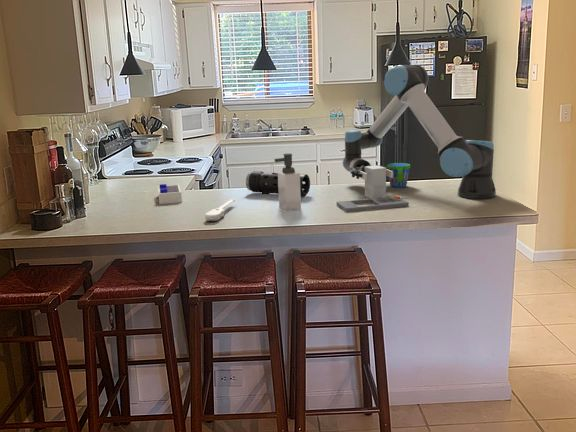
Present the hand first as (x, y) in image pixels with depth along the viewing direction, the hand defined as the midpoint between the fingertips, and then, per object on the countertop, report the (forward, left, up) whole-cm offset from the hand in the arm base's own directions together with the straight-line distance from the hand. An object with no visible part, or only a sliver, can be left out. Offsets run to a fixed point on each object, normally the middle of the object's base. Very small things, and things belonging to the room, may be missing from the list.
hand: (379, 175), depth 239 cm
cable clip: (+87, -36, -10) cm, 94 cm away
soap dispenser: (+40, +2, -10) cm, 41 cm away
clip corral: (+85, -36, -10) cm, 93 cm away
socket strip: (+7, +10, -10) cm, 16 cm away
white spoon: (+66, 0, -10) cm, 67 cm away
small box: (0, -4, -10) cm, 11 cm away
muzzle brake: (+38, -25, -10) cm, 47 cm away
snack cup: (-18, -21, -10) cm, 29 cm away
